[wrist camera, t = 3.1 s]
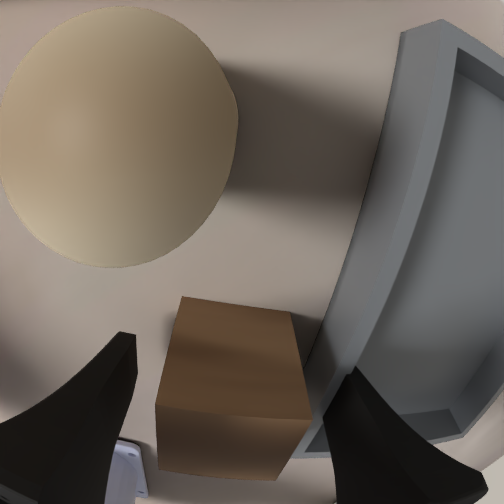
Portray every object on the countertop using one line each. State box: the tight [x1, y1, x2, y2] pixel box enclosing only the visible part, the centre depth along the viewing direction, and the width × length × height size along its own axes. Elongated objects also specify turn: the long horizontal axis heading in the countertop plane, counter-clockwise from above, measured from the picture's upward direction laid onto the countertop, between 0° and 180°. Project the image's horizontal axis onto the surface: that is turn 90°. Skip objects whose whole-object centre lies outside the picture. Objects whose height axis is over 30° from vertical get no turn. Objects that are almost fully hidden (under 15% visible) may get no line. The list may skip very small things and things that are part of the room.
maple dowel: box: [0, 6, 239, 268], centre depth 6 cm, size 4×4×6 cm
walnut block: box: [155, 296, 313, 481], centre depth 10 cm, size 4×4×5 cm
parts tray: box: [290, 19, 504, 458], centre depth 11 cm, size 17×11×2 cm, turn 169°
